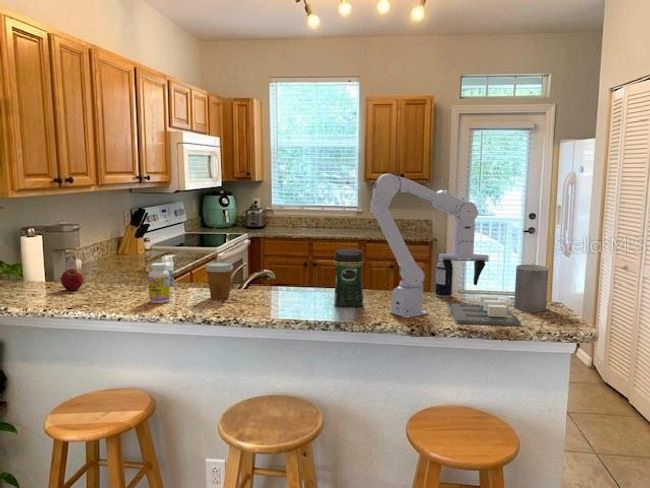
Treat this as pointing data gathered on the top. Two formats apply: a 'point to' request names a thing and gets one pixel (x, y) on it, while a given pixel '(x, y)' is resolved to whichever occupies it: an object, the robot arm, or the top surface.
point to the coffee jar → (348, 278)
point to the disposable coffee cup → (219, 279)
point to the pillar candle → (531, 288)
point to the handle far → (486, 299)
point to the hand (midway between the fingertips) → (462, 284)
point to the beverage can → (443, 281)
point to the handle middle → (490, 303)
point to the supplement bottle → (159, 283)
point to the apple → (72, 279)
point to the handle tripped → (497, 311)
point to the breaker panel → (479, 315)
